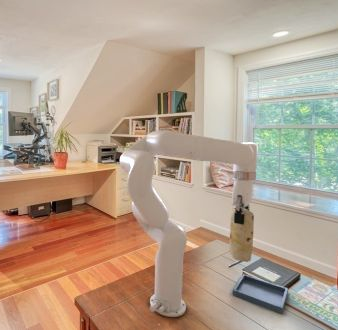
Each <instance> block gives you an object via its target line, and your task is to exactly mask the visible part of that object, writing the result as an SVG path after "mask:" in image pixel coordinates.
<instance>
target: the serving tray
mask: <svg viewBox="0 0 338 330" xmlns="http://www.w3.org/2000/svg"><path fill="white" fill-rule="evenodd" d="M288 294H289V288H288V287H284V286H283V285H278V284H275V283H271V282H269V281H266V280H264V279H261V278H258V277H254V276H251V275H247V274H245V273H242V275H241V277H240V278H239V280H238V281H237V283H236V285H235V286H234V288H233V289H232V296H234V297H236V298H240V299H242V300H244V301H246V302H247V301H248V302H250V303H251V304H255V305H257V306H260V307H262V308H265V309H268V310H270V311H273V312H275V313H278V314H281V315H283V311H284V308H285V305H286V301H287V297H288Z"/></svg>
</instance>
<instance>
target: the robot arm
mask: <svg viewBox="0 0 338 330" xmlns="http://www.w3.org/2000/svg"><path fill="white" fill-rule="evenodd" d="M258 151H259V145H258V144H257V143H255V142H240V141H232V140H226V139H220V138H219V139H218V138H213V137H209V136H208V137H207V136H201V135H196V134H195V135H194V134H188V133H183V132H176V131H172V130H171V131H170V130H155V131H151V132H149V133H148V134H145V135H144V136H143V137H142V138H140V139H139V140H137V141H136V142H135V143H134V144H132V145H131V146H129V147H128V148H127V149H125V150H124V151H123V152H122V154H121V155H120V156H119V157H120V158H119V165H120V168H121V169H122V170H123V171H125V172H126V173H128V175H127V179H126V192H127V195H128V196H129V198H130V200H131V201H132V202H131V212H132V214H133V217H134V218H135V219H136V220H137V222H138V223H139V225H140V226H141V228H142V229H143V231H144V232H145V233H146V235H147V236H148V237H149V238H151V240H153V241H154V242H155V243H156V244H158V249H157V252H156V253H155V260H154V294H153V295H151V297H150V299H149V304H150V306H149V311H150V312H152V313H154V312H156V313H157V314H159V315H161V316H164V317H167V318H177V317H180V316H183V315H184V314H185V312H186V309H187V305H186V302H185V301H184V300H183V298H182V297H183V274H184V273H183V272H184V255H185V250H186V247H187V242H188V237H187V234H186V231H185V230H184V228H183V227H181V226H180V225H179V224H177V223H175V222H174V221H173V220H170V214H169V211H168V208H167V207H166V205H165V204H164V202H163V200H162V199H161V197H160V196H159V195H158V193H157V191H156V189H155V188H154V186H153V177H154V174H155V171H156V168H157V161H156V158H155V156H156V155H157V156H164V157H170V158H176V159H184V160H190V161H191V160H192V161H198V162H212V163H213V162H214V163H215V162H216V163H223V164H230V165H233V166H232V180H234V181H233V186H232V193H231V194H232V196H231V205H232V206H235V213H234V223H237V224H242V225H243V224H244V216H245V214H244V208H245V209H247V210H249V211H250V204H251V203H252V197H253V182H256V180H257V170H258V169H257V168H258V167H257V166H258V155H259V154H258ZM240 207H241V208H242V209H241V208H240Z"/></svg>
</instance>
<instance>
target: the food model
mask: <svg viewBox="0 0 338 330" xmlns="http://www.w3.org/2000/svg"><path fill="white" fill-rule="evenodd" d="M240 208H241V207H240ZM241 209H242V208H241ZM234 213H235V207H232V208H231V216H230V225H229V226H230V230H229V254H230V256H231V258H233V259H234V260H235V261H239V262H240V261H241V262H244V263H248V262H251V260H252V254H253V245H254V229H255V226H254V223H255V222H254V221H255V215H254V213H253V212H252V211H250V209H249V210H247V209H245V208H244V214H245V216H244V224H243V225H242V224H237V223H234Z"/></svg>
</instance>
